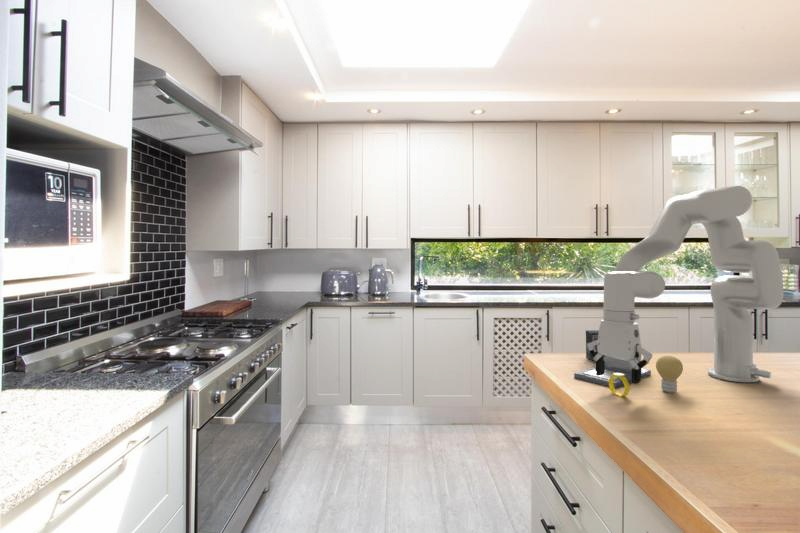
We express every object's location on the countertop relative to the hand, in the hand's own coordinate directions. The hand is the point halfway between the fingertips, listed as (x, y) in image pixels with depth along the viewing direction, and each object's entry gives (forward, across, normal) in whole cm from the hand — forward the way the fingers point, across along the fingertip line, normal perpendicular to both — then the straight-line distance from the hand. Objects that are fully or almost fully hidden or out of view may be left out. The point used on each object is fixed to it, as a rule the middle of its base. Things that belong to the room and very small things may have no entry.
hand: (617, 378), depth 116 cm
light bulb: (+4, -7, -14) cm, 17 cm away
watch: (+5, 0, 0) cm, 5 cm away
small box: (+4, +23, -34) cm, 42 cm away
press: (+4, +10, -16) cm, 20 cm away
